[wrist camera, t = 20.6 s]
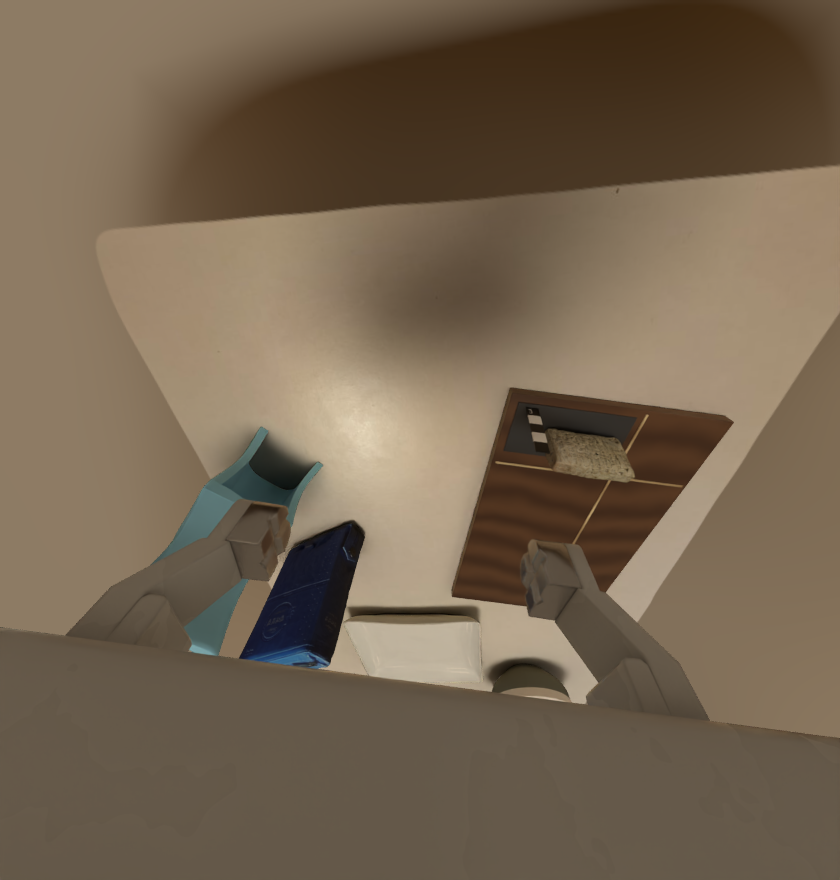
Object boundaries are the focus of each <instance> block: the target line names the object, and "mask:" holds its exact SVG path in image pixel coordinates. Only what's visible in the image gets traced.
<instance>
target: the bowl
mask: <svg viewBox="0 0 840 880" xmlns="http://www.w3.org/2000/svg"><path fill="white" fill-rule="evenodd" d="M492 692H495V693H502V694H510V695H518V696H525V697H533V698H540V699H548V700H555V701H563V702H570V703H572V702H571V700H570V698H569V695H568V692H567V690H566V689H565V687H564V686H563V685H562V683H561V682H560V681H559V680H558V679H557V678H555V677H554V676H553V675H551V674H550V673H548V672H546V671H544V670H542V669H541V668H540V667H538V666H535V665H530V664H521V665H515V666H513V667H511V668H509V669H508V671H507V672H505V673H504V674H502V675H501V676H500V677H499V679H498V680H497V681H496V682H495V684H494V687H493V690H492Z"/></svg>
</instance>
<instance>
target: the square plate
mask: <svg viewBox="0 0 840 880" xmlns="http://www.w3.org/2000/svg"><path fill="white" fill-rule="evenodd" d="M343 624H344V627H345V629H346V631H347V633H348V635H349V637H350V639H351V641H352V643H353V645H354V647H355V649H356V651H357V653H358V655H359V657H360V660H361V662H362V664H363V666H364V668H365V670H366V672H367V674H368V676H374V677H382V678H389V679H397V680H404V681H412V682H428V683H480V682H482V681H483V672H482V664H481V625H480V623H479V622H477V621H476V620H475V619H473V618H471V617H468V616H450V615H444V614H424V615H397V614H382V615H361V616H354V617H352V618H349V619H348V620H346V621H344V623H343Z"/></svg>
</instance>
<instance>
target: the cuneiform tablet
mask: <svg viewBox="0 0 840 880" xmlns="http://www.w3.org/2000/svg"><path fill="white" fill-rule="evenodd" d="M526 410H527V415H528V419H529V424H530V429H531V433H532V438H533V442H534V447H535V451H536V452H540V453H545V456H546V459H547V461H548V463H549V465H550V467H551V469H552V470H553V471H554V472H560V473H564V474H571V475H575V476H576V475H577V476H580V477H585V478H592V479H601V480H612V481H619V482H629V481H630V480H631V479H634V478H635V474H634V470H633V468H632V467H631V465H630V462H629V461H628V458H627V455H626V453H625V451H624V449H623V447H622V445H621V442H620V441H619V440H618V439H617V438H613V437H611V438H606V437H601V436H598V435H587V434H580V433H574V432H567V431H563V430H558V429H547V430H546V431H545V432H544V428H543V424H542V420H541V417H540V413H539V409H537V408H530V407H526Z"/></svg>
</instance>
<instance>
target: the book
mask: <svg viewBox="0 0 840 880" xmlns="http://www.w3.org/2000/svg"><path fill="white" fill-rule="evenodd" d="M364 539H365V536H364V534H363V532H362V531H361V530H360V529H359V528H358V526H356V525H355V524H353V523H352V524H345V525H343V526H340V527H338V528H336V529H334V530H332V531H329V532H326V533H324V534H321V535H319V536H316V537H314V538H312V539H310V540H308V541H305V542H303V543H301V544H299V545H298V546H297V547H295V548H293V549H292V550H291V551H290V552H289V554H288V556H287V558H286V560H285V562H284V564H283V567H282V569H281V571H280V573H279V575H278V577H277V580H276V582H275V584H274V586H273V588H272V590H271V593H270V595H269V597H268V599H267V601H266V603H265V605H264V608H263V610H262V612H261V614H260V616H259V619H258V621H257V623H256V625H255V627H254V629H253V631H252V633H251V635H250V637H249V639H248V641H247V643H246V645H245V647H244V649H243V651H242V653H241V655H240V657H239V659H246V660H253V661H261V662H268V663H276V664H283V665H291V666H299V667H306V668H314V669H319V668H321V667H327V666H329V665H330V663H331V658H332V656H333V654H334V651H335V647H336V644H337V640H338V636H339V632H340V628H341V624H342V620H343V616H344V611H345V608H346V603H347V599H348V595H349V590H350V587H351V584H352V580H353V576H354V573H355V569H356V565H357V562H358V559H359V554H360V551H361V548H362V545H363V541H364Z"/></svg>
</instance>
